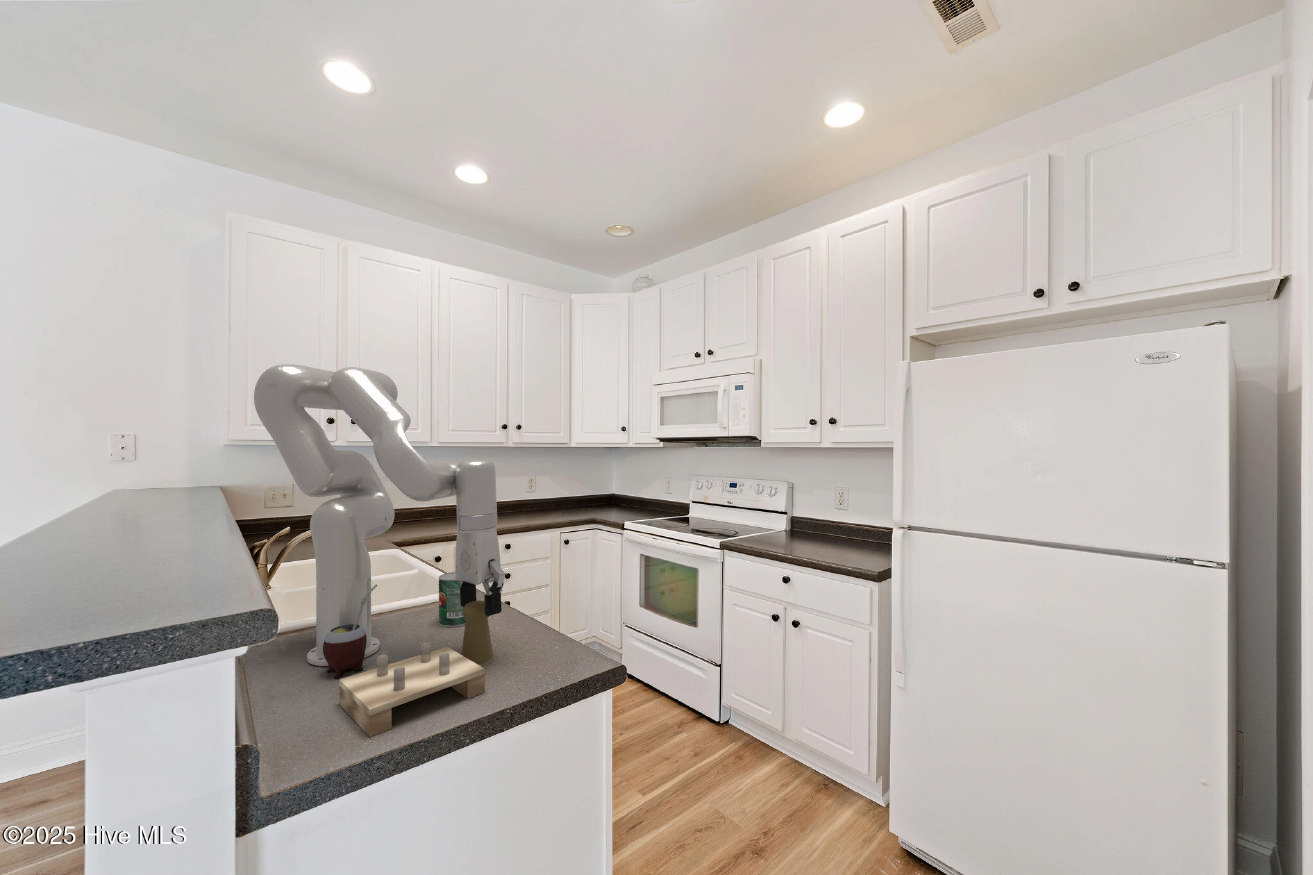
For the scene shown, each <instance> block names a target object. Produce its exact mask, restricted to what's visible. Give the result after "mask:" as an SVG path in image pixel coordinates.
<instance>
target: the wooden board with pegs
mask: <svg viewBox="0 0 1313 875" xmlns="http://www.w3.org/2000/svg"><path fill="white" fill-rule="evenodd" d="M485 672H486V671H485V668H484V667H482V666H481V665H480V664H476V663H474V662H472V661H471V660H469V659H467V658H466V657H464V656H462V655H461V653H459V652H457V651H455V650H454V649H452V648H450V647H448V646H445V647H441V648H438V649H436V650H432V643H431V642H429V641H427V642H423V643H421V644H420V654H418V655H415V656H412V657H409V658H406V659H403V660H399V661H396V662H392V663H390V664H389V656H388V654H381V655H378V656H376V668H373V669H369V670H366V671H362V672H358V673H356V674H352V675H351V676H347V677H344V678H339V679H338V680H339V681H338V682H339V684H338V686H339V690H338V691H339V693H338V694H339V696H338V697H339V702H338V703H339V705H340V707H341V708H342V709H343V710H345V712H346V713H347V714H348V715H349V716H350V717H351V718H352V719H353V721H354V722H356V724H357V725H358V726H359V727H360V728H361V729H362V731H364V733H365V734H366V735H367V736H368V737H369V738H373V737H374V736H376V735H378V734H382V733H384V732H387V731H389V730H391V729H392V728H393V727H392V725H393V724H392V721H393V720H392V712H393V711H392V708H395V707H397V706H401V705H402V704H407V703H408V702H411V701H414V700H417V699H419V698H422V697H425V696H428V695H430V694H434V693H436V692H439V691H442V690H445V689H447V688H450V687H451V688H452V689H454V690H455V691H456V692H457V693H459V694H461V695H462V696H463V697H465V699H470V698H473V697H476V696H478V695H480V694H484V693H485V691H486V690H485V688H486V687H485V686H486V685H485V682H486V681H485V677H486V676H485V675H486V674H485Z"/></svg>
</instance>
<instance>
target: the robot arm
mask: <svg viewBox="0 0 1313 875" xmlns="http://www.w3.org/2000/svg"><path fill="white" fill-rule="evenodd" d="M398 395H399V394H398V388H397V385H396V384H395V381H394V380H393V379H392V378H391V377H390V376H388V375H387V374H385V373H382V372H379V371H375V370H370V369H366V368H361V367H354V366H353V367H352V366H351V367H350V366H349V367H344V368H340V369H338V370H337V371H332V370H326V369H321V368H315V367H310V366H305V365H299V364H290V363H289V364H278V365H273V366H271V367H269V368H267V369H265V370H264V371H263V372H262V373H261V374H260V376H259V377H258V379H257V381H256V384H255V387H254V391H253V404H254V408H255V411H256V414H257V416H258V418H259V420H260V422H261V423H262V425H263V426H264V428H265V430H266V431H267V433H268V434H269V435H270V437H271V439H272V440H273V442H274V443H275V445H276V447H277V449H278V451H279V453H280V456H281V457H282V460H283V461H284V464H285V465H286V468H287V469H288V470H289V473H290V475H291V476H292V479H293V480H294V483H295V484H296V486H297V487H298V489H299V491H301V493H303V495H305V496H308V497H311V498H312V497H313V498H322V497H331V496H339V497H336V498H335V497H334V498H332V499H329V500H326V501H324V502H323V503H322V504H320V505H319V506H318V507H317V508H316V509H314V511H313V512H312V515H311V516H310V522H309V531H310V536H311V540H312V543H313V548H314V555H315V556H314V557H315V580H316V582H315V584H316V586H315V587H316V589H315V592H316V593H315V595H316V596H315V598H316V599H315V600H316V606H315V609H316V611H315V612H316V613H315V615H316V620H315V621H316V625H315V626H316V630H315V631H316V633H315V634H316V637H315V638H316V641H315V643H316V646H315V647H313V648H312V649H310V650H309V651H308V652H307V654H306V661H307V663H308V664H311V665H313V666H317V667H329V666H328V663H327V661H326V660H325V657H324V655H323V644H324V639H325V637H326V635H327V633H328V632H329V631H330V630H331V629H332V628H335V627H337V626H341V625H346V624H354V623H355V620H356V617H357V614H358V611H359V608H360V605H361V604H360V603H361V600H362V598H364V596H365V595H366V593H367V592H368V591H369V590H370V589H371V588H372V564H371V563H372V562H371V557H370V553H369V551H368V548H367V546H366V544H365V540H366V539H370V538H374V537H377V536H379V535H382V534H384V533H386V531H388V530H389V529H390V528H391V527H392V525H393V523H394V520H395V516H396V515H395V514H396V513H395V507H394V505H393V502H392V499H391V498H390V495H389V494H388V492H387V490H386V488H385V487H384V484H383V483H382V481H381V478H380V476H379V475H378V473H377V470H376V469H375V468H374V465H373V464H372V462H371V461H370V460H369V459H368V458H367V457H366V456H365V455H363V454H362V453H360V452H358V451H354V450H349V449H336V448H335V447H334V446H333V445H332V444H331V442H330V440H329V438H328V437H327V435H326V433H325V430H324V429H323V428H322V426H321V425H320V424H319V423H318V421H317V420H316V419H315V418H314V417H312V415H310V414H309V413H308V412H307V410H306V409H305V408H307V409H309V408H310V409H320V410H321V409H322V410H332V411H344V413H345V414H346V415H347V416H348V417H349V418H350V420H352V421H353V422H354V424H356V426H357V427H358V428H359V429H360V430H361V431H362V432H363V433H364V434H365V435H366V436H367V437H368V438H369V439H370V442H372V446H373V447H372V448H373V452H374V456H375V458H376V462H377V464H378V466H379V468H380V470H381V471H382V473H383V474H384V475H385V477H387V478H388V479H389V481H390V482H391V483H393V485H394V486H395V487H396V488H397V489H398V490H399V491H400V492H401V493H402V494H404V495H405V496H406V497H408V499H411V500H413V501H416V502H423V503H424V502H430V501H434V500H438V499H440V500H441V499H444V498H450V497H454V496H455V498H456V499H455V500H456V502H455V504H456V505H455V506H456V524H457V525H456V527H457V528H456V529H457V530H456V532H457V533H456V534H457V535H456V540H455V572H456V577H457V578H458V579H459V586H461V587H460V605H461V606H462V607H464V606H465V605H466V604H468V603H469V602H473V601H478V600H477V586H478V585H481V584H482V586H483V589H484V591H485V593H486V594H484V596H483V597H484V598H483V599H484V600H483V601H484V602H485V615H486V616H489V617H490V616H494V615H497V614H500V613H501V612H502V611H503V610H502V592H503V587H504V584H505V583H504V581H505V579H506V578H505V577H506V572H505V571H504V570H503V568H501V554H500V545H499V539H498V538H499V537H498V532H497V529H498V506H497V478H496V476H497V475H496V466H495V463H494V462H493V461H491V460H486V459H480V460H479V459H478V460H477V459H476V460H464V461H456V460H446V459H445V460H444V459H443V460H429V461H428V460H426V459H425V458H424V457H423V456H422V455H421V454H420V453H419V452H418V450H416V449H415V448H414V447H413V445H412V444H411V442H410V441H409V439H408V438H407V435H406V431H408V429H409V427H410V426H411V423H412V422H411V421H412V419H411V416H410V415H409V413H408V412H407V411H406V410H405V409H404V408H403V407H402V406H401V405H400V404H399V403H398V402H397V399H398ZM490 584H491V586H490ZM358 624H359V625H360V626H362V627H363V628H364V630H365V631H366V636H367V643H366V650H365V656H364V659H366V658H368V657H370V656H371V655H374V654H375V653H377V651H378V650H379V649H380V646H381V642H380V639H378V638H377V637H373V636H372V592H371V593H370V594H369V595H368V597H367V598H366V602H365V604H364V606H363V609H362V612H361V615H360V618H359V621H358Z"/></svg>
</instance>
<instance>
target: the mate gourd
mask: <svg viewBox="0 0 1313 875" xmlns="http://www.w3.org/2000/svg"><path fill="white" fill-rule="evenodd" d="M377 587H378V584H374V585H373V587H372V586H371V589H370V590H369V591H368V592H367V593H366V595H365V596H364V598H362V600H361V603H360V604H361V605H360V608H359V611H358V614H357V617H356V620H355V623H354V624H346V625H341V626H337V627H335V628H332V629H331V630H330V631H329V632H328V633H327V635H326V637H325V639H324V644H323V655H324V657H325V660H326V661H327V663H328V666H327V667H328V669H327V670H326V671H327V674H335V673H336V674H335V675H334V680H339V679H341V677H343V676H344V675H346V673H357V672H358V673H362V672H364V667H363V664H364V661H365V658H364V656H365V650H366V643H367V636H366V631H365V630H364V628H363V627H362V626H360V625H359V624H358V621H359V618H360V615H361V612H362V609H363V606H364V604H365V602H366V598H367V597H368V595H369V594H370V593H371V594H372V592H373V591H374V590H375V589H376V588H377Z"/></svg>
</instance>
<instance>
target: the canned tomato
mask: <svg viewBox="0 0 1313 875" xmlns="http://www.w3.org/2000/svg"><path fill="white" fill-rule="evenodd" d="M460 587H461V586H459V579H458V578H457V577H456V571H452V572H446V573H443V574H441V575H439V576H438V625H439V627H443V628H456V627H458V626H459V627H464V626H465V623H466V620H465V619H464V617H463V608H464V607H465V606H464V607H462V606H461V605H460Z"/></svg>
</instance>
